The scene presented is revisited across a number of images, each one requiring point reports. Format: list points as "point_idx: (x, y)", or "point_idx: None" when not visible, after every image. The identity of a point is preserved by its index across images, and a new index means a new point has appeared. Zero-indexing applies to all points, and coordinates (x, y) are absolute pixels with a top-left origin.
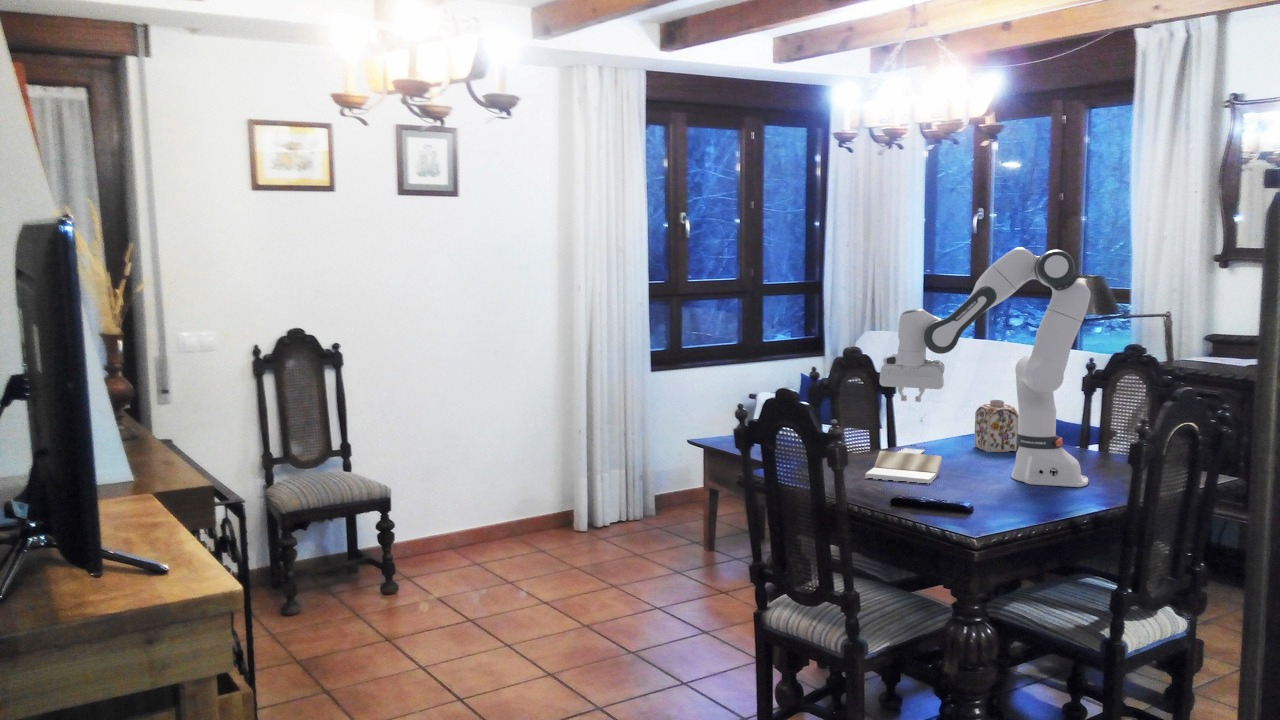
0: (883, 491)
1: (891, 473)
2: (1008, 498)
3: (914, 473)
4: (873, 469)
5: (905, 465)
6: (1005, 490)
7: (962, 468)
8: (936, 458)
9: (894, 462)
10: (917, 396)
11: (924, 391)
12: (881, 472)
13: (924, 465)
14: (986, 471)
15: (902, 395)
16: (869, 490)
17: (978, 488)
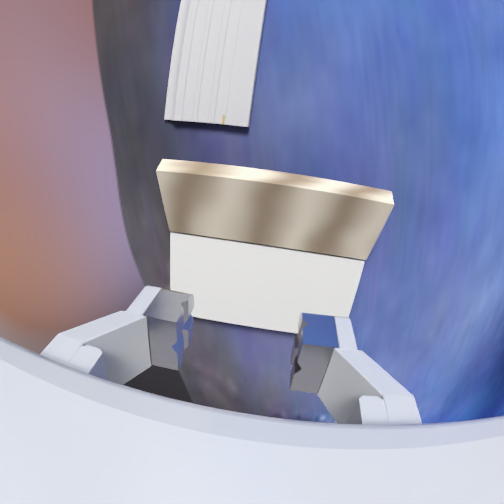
0: (243, 400)
1: (235, 299)
2: (468, 381)
3: (300, 282)
4: (176, 261)
5: (266, 232)
6: (487, 329)
7: (435, 89)
8: (374, 214)
9: (226, 219)
10: (312, 377)
11: (407, 397)
12: (206, 293)
13: (330, 236)
14: (492, 124)
15: (145, 367)
16: (215, 397)
17: (444, 331)
